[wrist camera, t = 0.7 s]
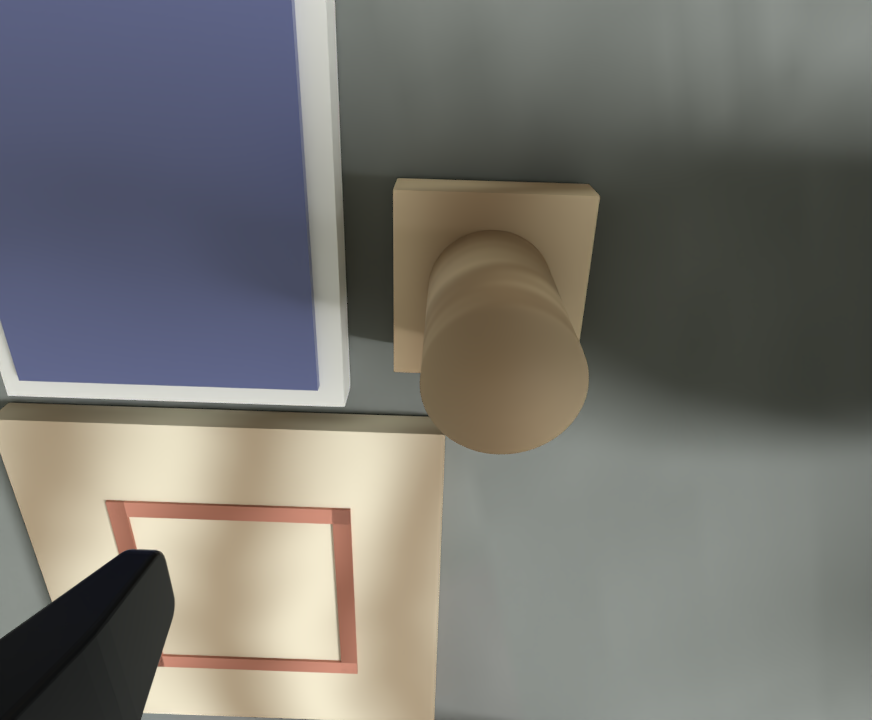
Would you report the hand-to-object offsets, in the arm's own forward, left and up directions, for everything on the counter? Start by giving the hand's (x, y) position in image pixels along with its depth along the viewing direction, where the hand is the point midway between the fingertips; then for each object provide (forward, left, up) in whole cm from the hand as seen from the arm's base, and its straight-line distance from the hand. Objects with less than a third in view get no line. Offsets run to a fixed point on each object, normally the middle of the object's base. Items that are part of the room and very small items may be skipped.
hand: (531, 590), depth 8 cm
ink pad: (+9, -2, -12) cm, 15 cm away
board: (+8, +12, -12) cm, 19 cm away
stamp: (0, 0, -12) cm, 12 cm away
